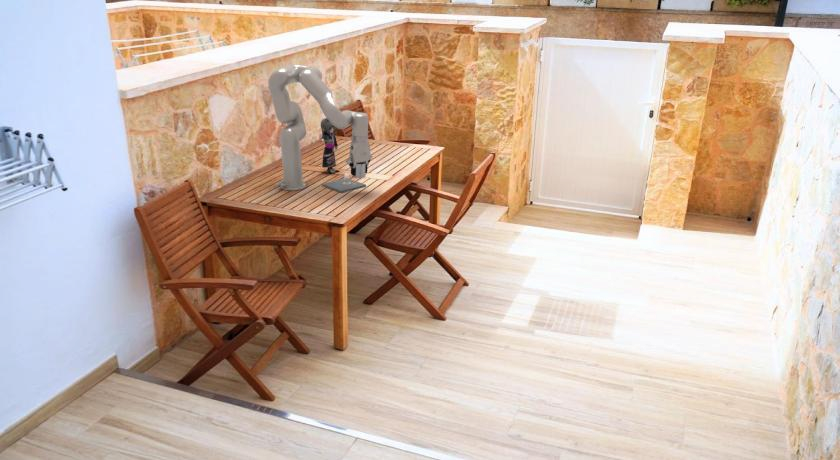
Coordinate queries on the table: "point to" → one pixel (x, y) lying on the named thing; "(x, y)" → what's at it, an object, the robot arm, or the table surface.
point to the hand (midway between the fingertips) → (359, 173)
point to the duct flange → (344, 184)
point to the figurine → (328, 145)
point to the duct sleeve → (360, 170)
